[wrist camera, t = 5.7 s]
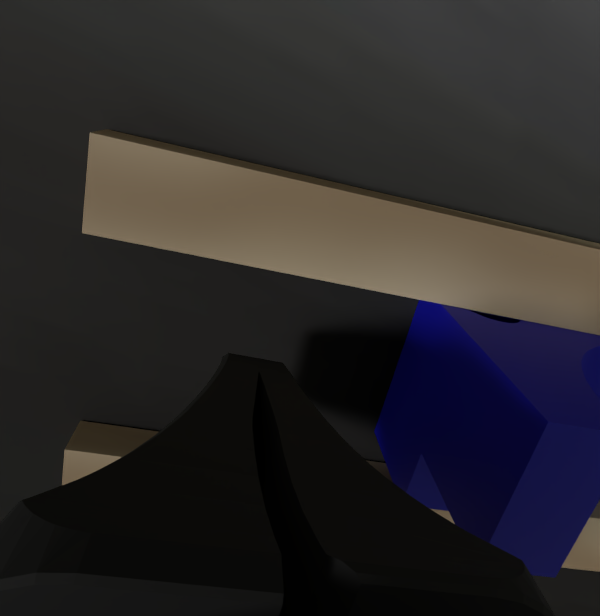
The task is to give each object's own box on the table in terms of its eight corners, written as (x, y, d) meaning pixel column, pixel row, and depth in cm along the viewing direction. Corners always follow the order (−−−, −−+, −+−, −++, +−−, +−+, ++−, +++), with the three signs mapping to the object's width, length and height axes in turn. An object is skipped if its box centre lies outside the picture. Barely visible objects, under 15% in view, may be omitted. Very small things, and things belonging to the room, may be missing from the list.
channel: (708, 556, 18) (811, 659, 14) (75, 479, 14) (21, 592, 11) (882, 309, 14) (1067, 370, 11) (106, 129, 11) (43, 141, 7)
